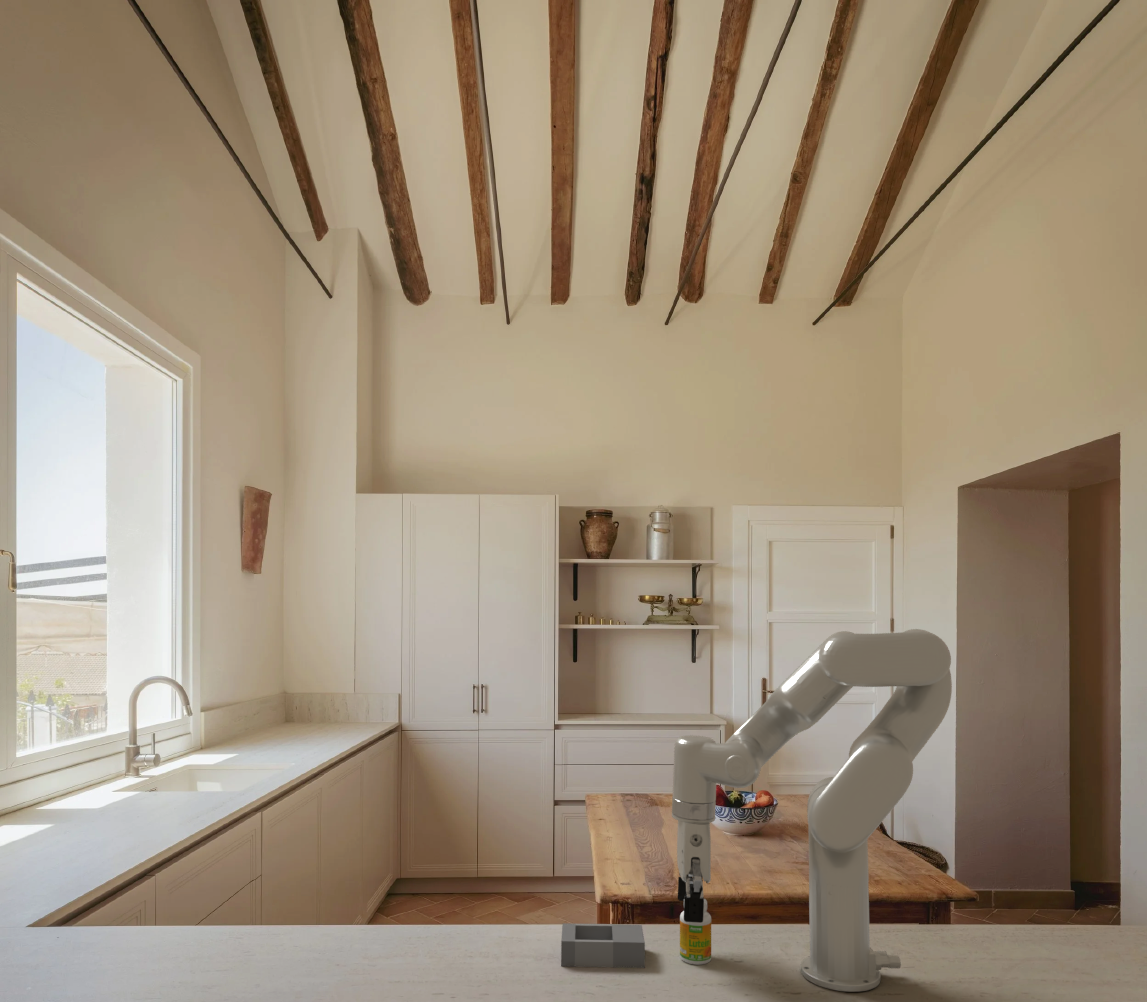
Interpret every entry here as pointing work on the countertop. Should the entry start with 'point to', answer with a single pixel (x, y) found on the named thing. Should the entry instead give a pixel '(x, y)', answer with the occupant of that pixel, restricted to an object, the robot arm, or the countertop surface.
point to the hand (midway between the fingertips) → (689, 910)
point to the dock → (602, 945)
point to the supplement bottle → (696, 939)
